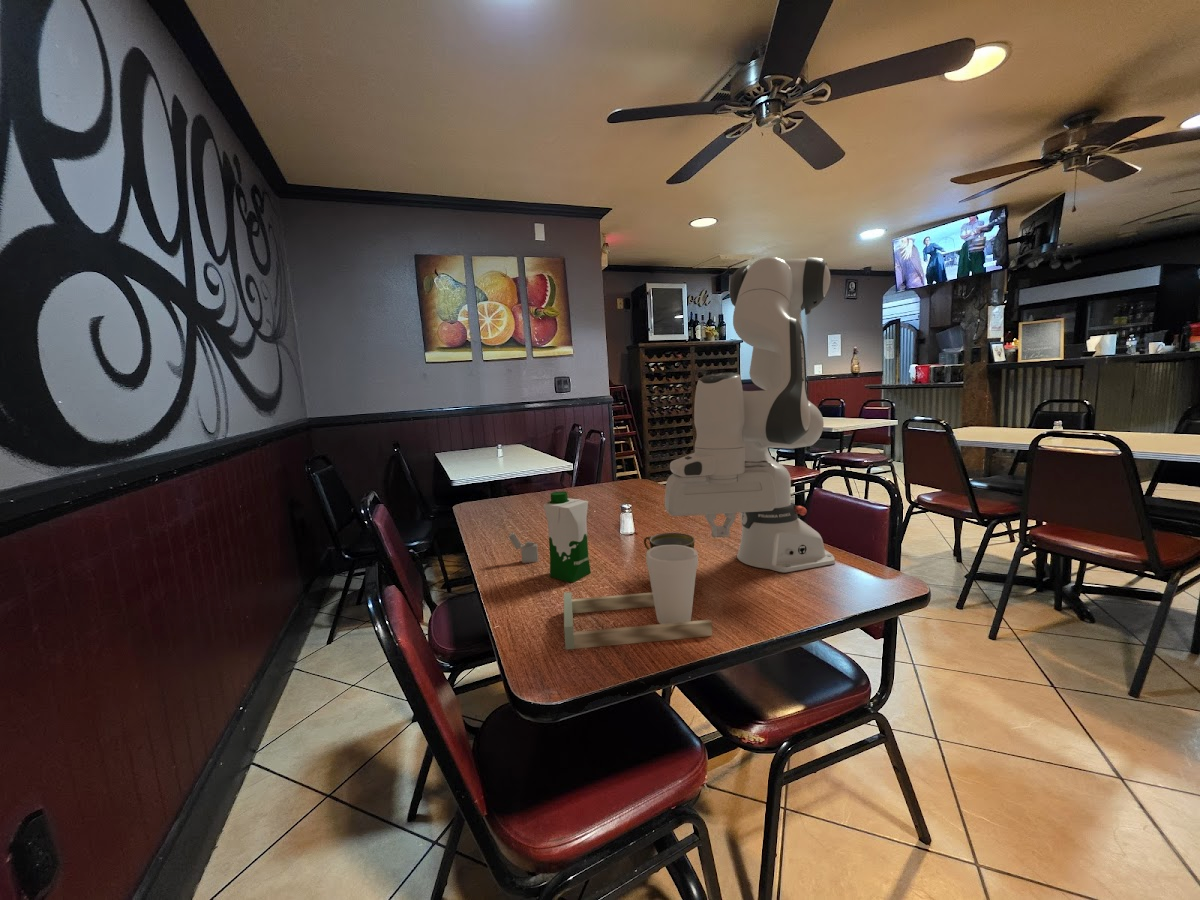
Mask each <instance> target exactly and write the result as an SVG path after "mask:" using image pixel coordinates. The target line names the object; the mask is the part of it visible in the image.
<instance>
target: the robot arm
mask: <svg viewBox="0 0 1200 900" xmlns="http://www.w3.org/2000/svg"><path fill="white" fill-rule="evenodd" d="M730 278H731V279H730V283H729V289H728V290H729V291H728V292H729V298H730V301H731V305H732V306H734V309H733V316H732V325H733V329H734V332H735V334H736V335H737V336H738V338H740V339H741V340H742V342H744V343H746V344H747V345H749V346H751V347H752V354H751V359H750V366H749V377H750V380H751V381H752V383H753V384H754V385H755V386H756V387H758V388H760V389H762V390H749V391H747V390H744V389H743V383H742V378H741V375H740V374H738V373H735V372H732V371H731V372H728V371H727V372H717V373H711V374H706V375H704V376H702V377H701V378H698V381H697V384H696V388H695V396H694V408H693V409H694V410H693V412H694V413H693V416H694V417H693V419H694V420H693V423H694V426H695V431H696V438H695V442H694V452H693V453H690V454H686V455H685V456H682V457H679V458H676V459H673V460H672V461H670V463H669V470H670V471H671V474H670V475H669V476H668V478H667V479H666V483H665V490H664V510H665V511H666V512H667V513H668V514H669V515H670V516H671V517H685V516H686V517H687V516H704V518H705V519H706V521H707V523H708V524H709V526H710V527H711V528H710V529H711V536H712V538H713V539H714V538H715V539H716V538H728V537H730V536H731V531H730V530H731V529H730V528H732V526H733V525H734V522H735V521H736V519H737V516H736V514H740V521H741V526H742V530H741V538H740V544H739V549H738V552H737V555H736V557H737V559H738V561H740V562H741V563H743V564H745V565H748V566H751V567H755V568H760V569H765V570H766V569H767V570H772V571H775V572H779V573H790V572H795V571H801V570H806V569H807V570H808V569H812V568H813V569H814V568H819V567H824V566H830V565H834V564H836V559H835V556H834V555H833V554H832V553H831V552H829V551H828V550H826V549H825V545H824V540H823V538H822V536H821V534H820V533H819V532H818V531H817V530H815V529H814V528H812V526H810V525H808V523H806V522H805V521H803V519H800V518H799V516H798V515H800V516H805V515H806V514H807V511H808V510H807V509H806V507H804V506H802V505H795V504H794V503H792V499H791V498H792V496H791V493H792V491H791V485H792V484H791V483H792V481H791V480H792V479H791V474H790V472H789V470H788V469H787V468H786V467H785V466H784V465H783V464H781V463H779V462H778V461H776V460H775V459H774V458H773V457H772V456H771V453H770V451H769V449H768V448H774V449H799V448H804V447H811V446H813V445H814V444H815V443H817V441H818V440H819V439H820V437H821V436H822V433H823V430H824V417H823V415H822V412H821V411H820V409H819V408H818V407H817V406H816V405H815V404H814V403H812V402H811V401H810V400H809V397H808V384H807V360H806V359H807V357H806V345H805V337H804V332H803V325H802V324H803V322H802V312H803V310H804V314H805V315H806V316H807V315H809V314H811V312H812V310H813V309H815V308H816V307H818V306H819V305H820V304H821V303H822V302H823V301H824V299H825V298H826V295H827V293H828V291H829V289H830V286H831V272H830V269H829V267H828V263H827V261H826V260H825V259H824V258H821V257H813V256H808V257H807V258H783V259H781V258H779V257H776V256H775V257H774V256H766V257H763V258H759V259H757V260H756V261H755V262H754V263H752V265H751V264H747V265H744V266H741V267H739V268H737V269H736V270H735V271H734V272H733V274H732V276H731V277H730ZM720 514H721V515H722V514H724V517H725V518H726V519H725V521H723V524H722V525H716V523H715V521H716V520H717V515H720ZM714 520H715V521H714Z"/></svg>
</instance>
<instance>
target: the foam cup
mask: <svg viewBox="0 0 1200 900" xmlns="http://www.w3.org/2000/svg"><path fill="white" fill-rule="evenodd" d="M698 555H699V552H698V551H697V550H696V549H695V548H694V549H693V548H691V547H687V546H683V545H661V546H656V547H653V548H651V547H650V549H649V550H648V549H647V551H646V553H645V558H646V559H645V560H646V561H645V562H646V563H645V565H646V568H647V569H648V576H649V581H650V582H649V583H650V587H651V592H652V594H653V599H654V605H655V606H654V610H655V615H656V621H657V622H658V623H659V624H667V623H678V622H688V621H692V615H693V614H692V612H693V603H694V594H695V585H696V578H697V577H696V576H697V569H698V565H699V560H698V558H699V557H698Z"/></svg>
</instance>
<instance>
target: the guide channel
mask: <svg viewBox="0 0 1200 900" xmlns="http://www.w3.org/2000/svg"><path fill="white" fill-rule="evenodd" d="M649 607H651V608H653V607H655V605H654V599H653V594H652V591H651V592H643V593H642V592H641V593H640V592H639V593H628V594H619V595H606V596H595V597H583V598H582V597H581V598H574V599H573V598H572V611H573V614H582V613H593V612H603V611H604V612H605V611H615V610H626V609H637V608H649ZM712 624H713V623H712V621H711V619H701V620H691V621H688V622H678V623H667V624H660V623H659V624H658V623H657V624H647V625H637V626H624V627H614V628H603V629H593V630H583V631H582V630H581V631H574V632H573V634H574V649H573V650H576V649H587V648H597V647H598V648H599V647H608V646H610V647H611V646H619V645H629V644H630V645H631V644H640V643H651V642H662V641H670V640H674V641H675V640H683V639H692V638H693V639H694V638H703V637H704V638H705V637H712V636H713V625H712Z"/></svg>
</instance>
